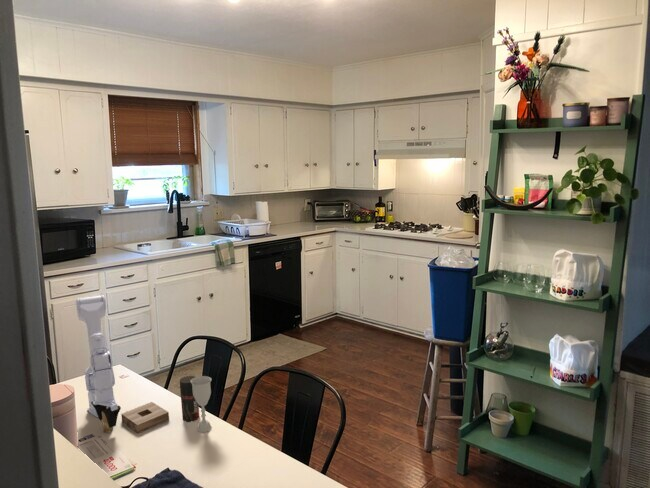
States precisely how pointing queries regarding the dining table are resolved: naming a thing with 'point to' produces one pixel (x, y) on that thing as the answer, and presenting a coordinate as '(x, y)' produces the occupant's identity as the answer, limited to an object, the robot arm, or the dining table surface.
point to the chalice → (202, 398)
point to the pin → (106, 424)
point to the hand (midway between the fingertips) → (107, 422)
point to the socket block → (145, 417)
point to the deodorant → (188, 400)
